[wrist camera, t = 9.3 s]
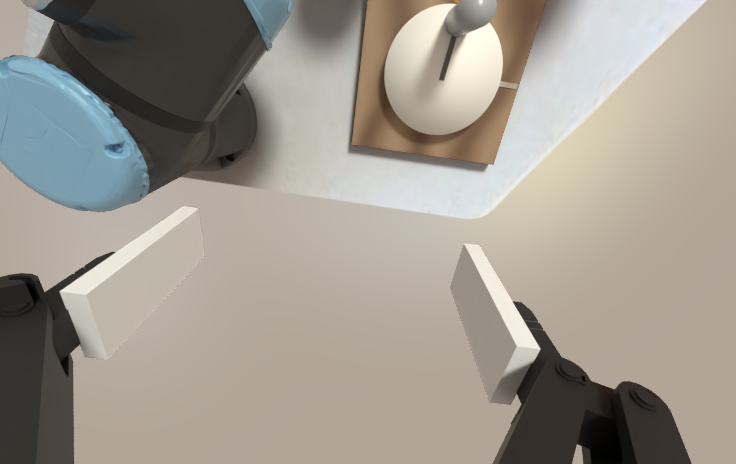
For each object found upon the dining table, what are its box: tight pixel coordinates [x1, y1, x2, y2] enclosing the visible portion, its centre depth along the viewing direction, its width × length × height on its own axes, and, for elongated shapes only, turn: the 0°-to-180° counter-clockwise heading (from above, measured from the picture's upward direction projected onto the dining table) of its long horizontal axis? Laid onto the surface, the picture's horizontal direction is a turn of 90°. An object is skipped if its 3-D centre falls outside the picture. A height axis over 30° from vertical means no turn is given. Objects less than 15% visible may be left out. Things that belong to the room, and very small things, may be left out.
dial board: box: [352, 0, 546, 165], centre depth 40 cm, size 20×20×2 cm
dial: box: [384, 0, 503, 135], centre depth 35 cm, size 14×14×10 cm
